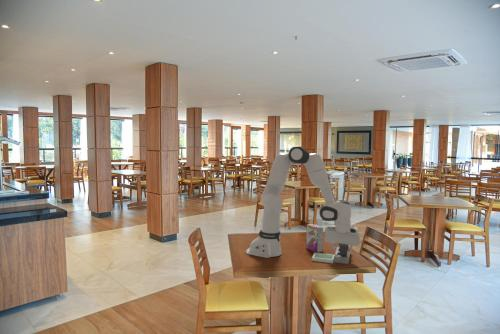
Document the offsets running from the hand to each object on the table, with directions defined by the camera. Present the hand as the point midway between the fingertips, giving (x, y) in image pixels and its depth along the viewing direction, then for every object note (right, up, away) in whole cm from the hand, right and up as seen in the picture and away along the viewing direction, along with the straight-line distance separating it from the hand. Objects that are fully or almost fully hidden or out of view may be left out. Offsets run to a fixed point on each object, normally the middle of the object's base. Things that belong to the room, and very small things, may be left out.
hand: (342, 250), depth 203 cm
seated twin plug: (+3, -4, +8) cm, 9 cm away
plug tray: (-11, -6, +1) cm, 12 cm away
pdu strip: (+1, -6, +4) cm, 7 cm away
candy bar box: (-13, -5, +20) cm, 24 cm away
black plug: (+1, -4, 0) cm, 4 cm away
